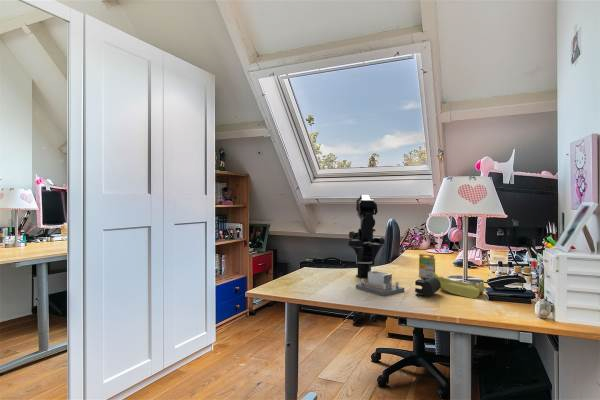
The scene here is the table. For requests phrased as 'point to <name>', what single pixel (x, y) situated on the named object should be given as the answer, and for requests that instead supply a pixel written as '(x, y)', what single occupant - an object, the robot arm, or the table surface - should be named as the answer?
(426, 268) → the crayon box
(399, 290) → the tray
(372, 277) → the drive
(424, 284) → the end cap
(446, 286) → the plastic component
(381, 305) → the table surface
